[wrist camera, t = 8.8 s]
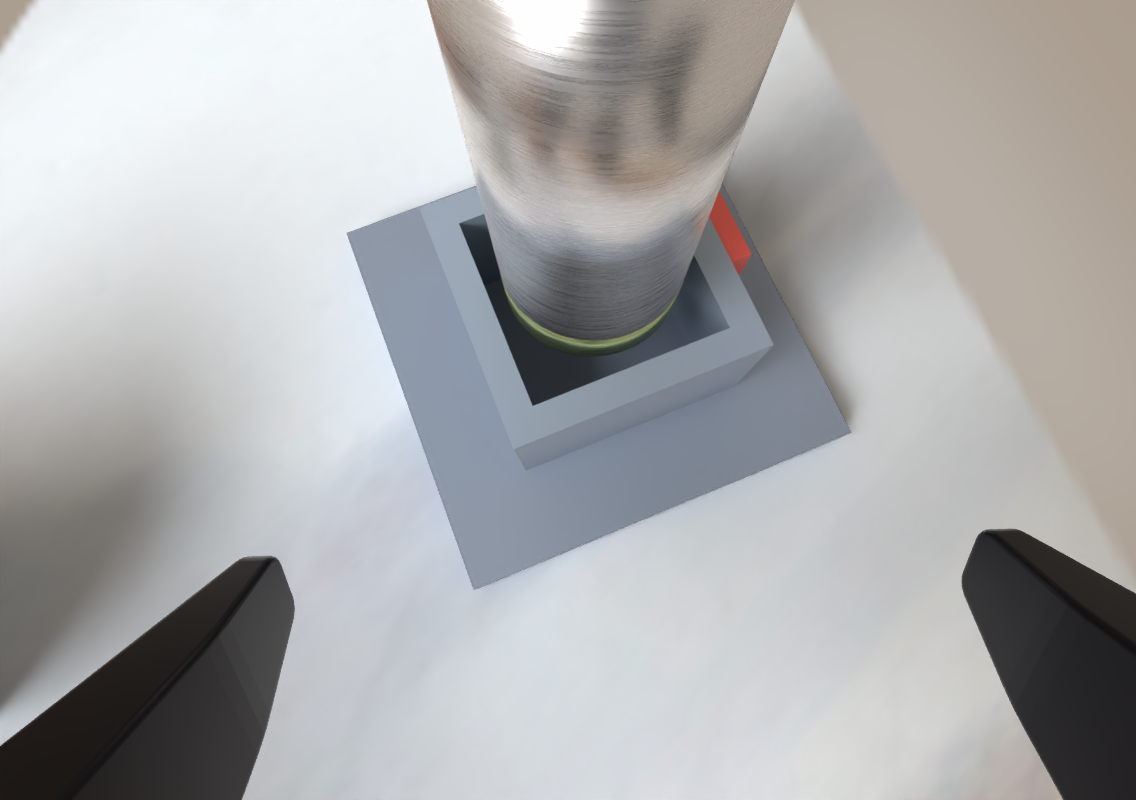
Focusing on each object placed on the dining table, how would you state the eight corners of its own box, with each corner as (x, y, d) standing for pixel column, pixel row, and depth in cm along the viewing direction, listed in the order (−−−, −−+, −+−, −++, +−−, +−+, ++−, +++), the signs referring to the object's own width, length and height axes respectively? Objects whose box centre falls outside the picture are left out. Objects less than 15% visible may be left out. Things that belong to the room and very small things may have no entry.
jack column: (709, 317, 16) (994, -185, 5) (541, 383, 15) (465, -5, 5) (637, 169, 17) (747, -516, 6) (477, 228, 16) (295, -387, 6)
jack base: (838, 438, 20) (921, 401, 15) (478, 588, 19) (446, 599, 14) (679, 128, 23) (707, 13, 18) (356, 247, 22) (294, 160, 17)
